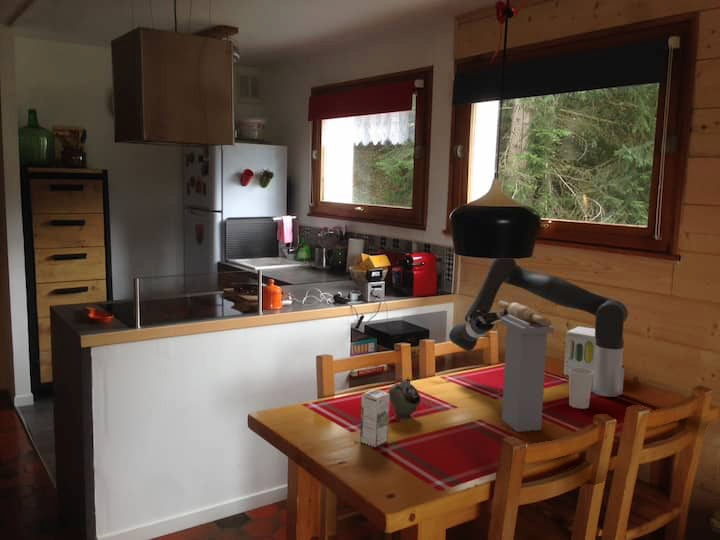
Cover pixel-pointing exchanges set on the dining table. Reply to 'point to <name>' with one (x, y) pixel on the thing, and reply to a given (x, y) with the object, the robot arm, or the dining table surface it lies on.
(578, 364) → the supplement box
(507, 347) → the stand
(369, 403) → the syrup box
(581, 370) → the cup
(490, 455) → the dining table surface
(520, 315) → the rolling pin
